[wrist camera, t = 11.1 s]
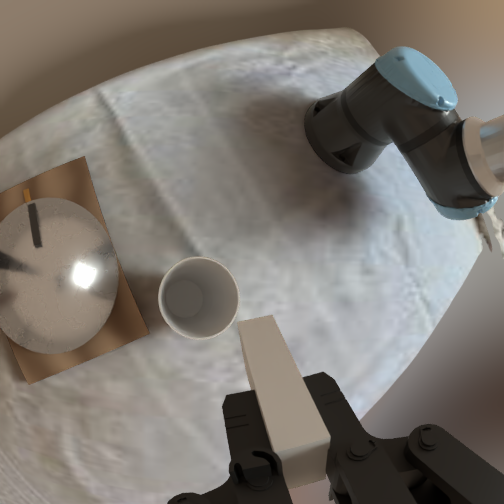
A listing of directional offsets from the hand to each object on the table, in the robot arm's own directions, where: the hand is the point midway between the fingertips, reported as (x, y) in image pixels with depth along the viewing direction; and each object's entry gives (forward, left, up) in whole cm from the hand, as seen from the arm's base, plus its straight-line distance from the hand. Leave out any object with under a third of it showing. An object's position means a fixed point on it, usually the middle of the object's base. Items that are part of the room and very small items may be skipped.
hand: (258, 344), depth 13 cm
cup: (-2, -2, -27) cm, 27 cm away
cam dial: (+13, -11, -25) cm, 30 cm away
